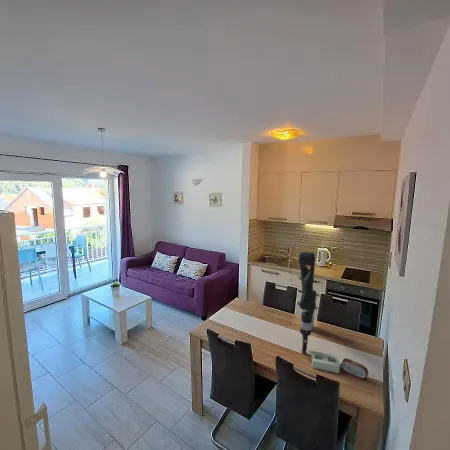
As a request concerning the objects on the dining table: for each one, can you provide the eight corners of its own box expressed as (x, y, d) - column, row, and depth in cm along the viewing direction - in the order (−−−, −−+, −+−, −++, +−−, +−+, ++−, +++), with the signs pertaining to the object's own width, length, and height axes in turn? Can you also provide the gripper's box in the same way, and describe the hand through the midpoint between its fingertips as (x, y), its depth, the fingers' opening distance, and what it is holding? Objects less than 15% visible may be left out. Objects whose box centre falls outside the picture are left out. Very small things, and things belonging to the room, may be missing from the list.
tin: (367, 378, 154) (369, 366, 152) (366, 382, 152) (368, 369, 150) (341, 367, 163) (343, 355, 162) (340, 369, 161) (341, 358, 160)
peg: (301, 351, 178) (302, 338, 177) (306, 352, 177) (307, 339, 176) (301, 354, 175) (302, 341, 174) (306, 354, 175) (307, 342, 173)
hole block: (311, 357, 172) (312, 350, 171) (336, 362, 168) (337, 355, 167) (312, 367, 163) (312, 360, 162) (338, 373, 158) (339, 366, 157)
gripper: (300, 320, 181) (298, 340, 184) (300, 331, 167) (298, 353, 170) (311, 322, 179) (309, 342, 181) (312, 333, 165) (310, 355, 168)
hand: (304, 347), depth 176 cm, fingers open, 8 cm apart
